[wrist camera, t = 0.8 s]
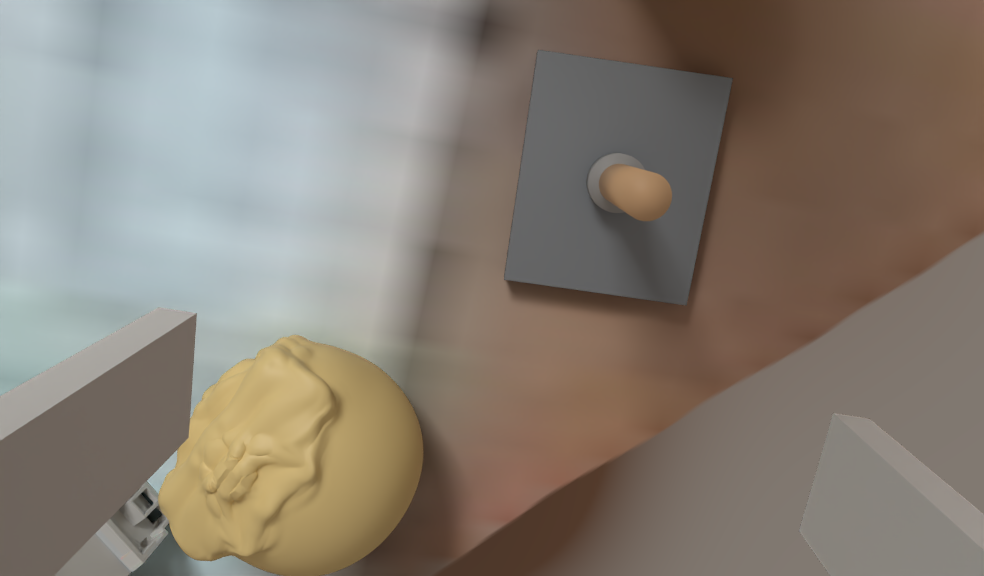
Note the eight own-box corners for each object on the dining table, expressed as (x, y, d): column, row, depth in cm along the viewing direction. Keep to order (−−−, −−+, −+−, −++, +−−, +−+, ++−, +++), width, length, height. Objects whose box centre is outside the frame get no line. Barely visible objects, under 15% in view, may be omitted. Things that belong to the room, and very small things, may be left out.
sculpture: (299, 281, 41) (228, 334, 30) (468, 407, 42) (456, 499, 32) (189, 431, 43) (85, 528, 32) (353, 545, 44) (306, 675, 34)
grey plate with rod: (537, 52, 38) (548, 24, 28) (725, 79, 38) (802, 61, 28) (504, 275, 40) (504, 321, 31) (681, 300, 41) (737, 353, 31)
